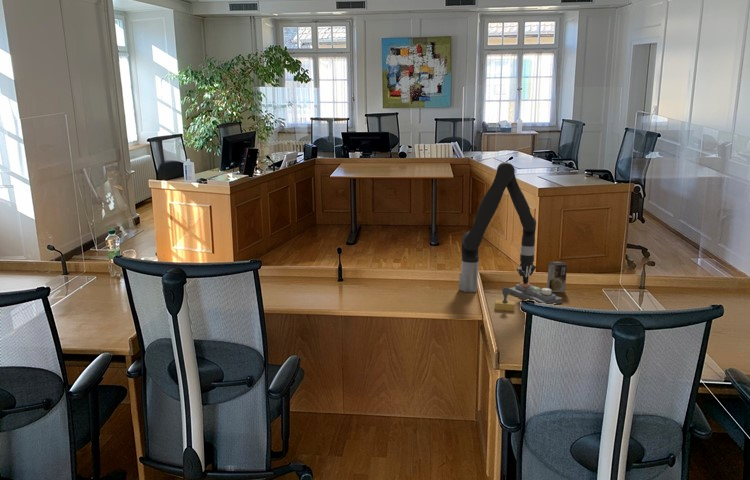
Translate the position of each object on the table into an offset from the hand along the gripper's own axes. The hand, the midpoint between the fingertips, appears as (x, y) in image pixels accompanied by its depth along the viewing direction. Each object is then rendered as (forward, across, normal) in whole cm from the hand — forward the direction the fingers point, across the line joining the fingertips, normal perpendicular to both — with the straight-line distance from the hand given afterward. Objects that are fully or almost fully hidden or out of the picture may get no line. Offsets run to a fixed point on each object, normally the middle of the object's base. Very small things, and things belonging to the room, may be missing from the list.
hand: (525, 283), depth 342 cm
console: (+6, 0, +8) cm, 10 cm away
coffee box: (+6, -19, +5) cm, 20 cm away
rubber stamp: (+6, +26, +13) cm, 30 cm away
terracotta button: (+2, 0, 0) cm, 3 cm away
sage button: (+3, 0, +8) cm, 9 cm away
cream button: (+1, 0, +16) cm, 16 cm away
